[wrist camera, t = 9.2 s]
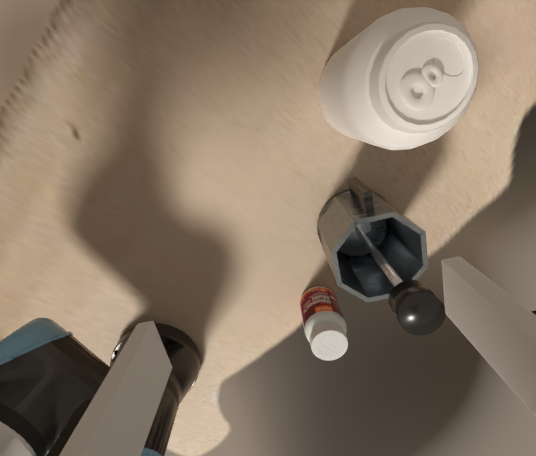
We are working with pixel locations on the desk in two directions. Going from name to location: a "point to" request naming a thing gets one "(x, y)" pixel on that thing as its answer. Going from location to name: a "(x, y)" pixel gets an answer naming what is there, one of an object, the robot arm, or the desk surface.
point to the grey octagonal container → (392, 247)
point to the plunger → (398, 283)
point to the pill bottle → (324, 323)
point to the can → (401, 79)
